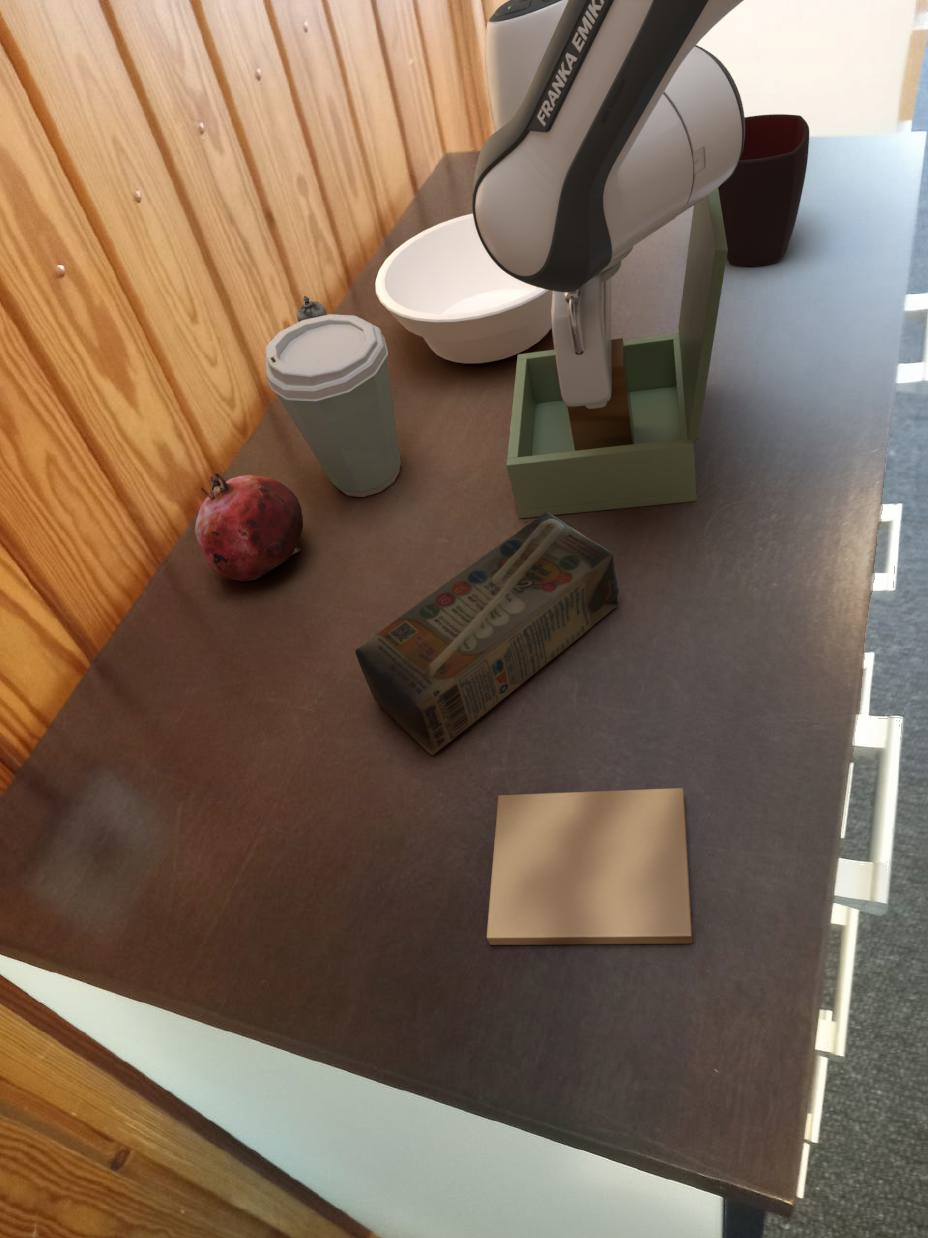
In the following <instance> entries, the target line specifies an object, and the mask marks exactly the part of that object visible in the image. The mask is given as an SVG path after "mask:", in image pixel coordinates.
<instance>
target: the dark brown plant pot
mask: <svg viewBox="0 0 928 1238" xmlns="http://www.w3.org/2000/svg"><path fill="white" fill-rule="evenodd" d="M744 117H745V139H744V146H743V151H742V155H741V158H740V161H739V164H738V166H737V168H736V170H735V172H734V173H733V175H732V176H731V177H730V178H729V179H728V180H727V181H725V182H724V183H722V184H721V185H720V186H719V187H718V191H719V197H720V203H721V210H722V216H723V223H724V229H725V236H726V242H727V249H728V252H727V258H726V260H727V261H728V263H729V264H730V265H732V266H738V267H759V266H766V265H771V264H776V263H779V262H780V261H781V260H782V259H783V258H784V256H785V255H786V253H787V250H788V247H789V244H790V242H791V238H792V235H793V232H794V229H795V226H796V222H797V217H798V214H799V208H800V205H801V201H802V196H803V195H802V194H803V190H804V185H805V179H806V174H807V166H808V161H809V149H810V148H809V147H810V145H809V144H810V127H809V124H808V121H806V120H805V118H804V117H803V116H802V115H800V114H786V113H785V114H783V113H779V114H778V113H777V114H775V113H773V114H759V115H750V116H744Z"/></svg>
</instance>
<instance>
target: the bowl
mask: <svg viewBox="0 0 928 1238" xmlns="http://www.w3.org/2000/svg"><path fill="white" fill-rule="evenodd" d="M374 286H375V295H376V296H377V298H378V300H379V303H380V304H381V305H382V306H383V307H384V308H385V309H386V310H387V311H388V312H389V313H390V314H391V316H393V318H394V319H395V320H396V321H397V322H398V323H399V324H401V325H402V327H404V329H406V331H408V332H410V333H412V334H414V335H416V336H418V337H421V338H422V339H423V340H424V341H425V343H426V344H427V345H428V347H429V348H430V350H431V351H432V352H434V354H436V356H439V358H442V359H444V360H446V361H450V362H454V363H461V364H484V363H491V362H497V361H500V360H504V359H507V358H511V357H512V356H515V355H519V354H521V353H522V352H524V351H526V350H529V349H530V348H531V347H533V346H534V345H536V344H537V343H539V342H540V341H541V340H542V339H544V338H545V336H547V335H548V333H549V332H550V330H552V320H551V311H552V295H553V291H551V290H546V289H542V288H539V287H535V286H532V285H529V284H527V283H524V282H522V281H520V280H518V279H516V278H514V277H512V276H510V275H509V274H507V273H506V272H504V271H503V270H502V269H501V268H500V267H499V266H498V265H497V264H496V263H495V262H494V261H493V260H492V259H491V257H490V256H489V254H488V253H487V251H486V250H485V248H484V246H483V244H482V242H481V240H480V238H479V235H478V233H477V230H476V226H475V222H474V218H473V212H472V213H468V214H465V215H461V216H457V217H454V218H452V219H448V220H445V221H442V222H440V223H438V224H436V225H434V226H431V227H429V228H426V229H424V230H423V231H421V232H419V233H418V234H416V235H414V236H412V237H410V238H409V239H407V240H406V241H405V242H403V243H402V244H401V245H399V247H397V248H396V249H394V250H393V252H392V253H391V254H389V256H388V257H387V258H385V260H384V262H383V263H382V265H381V266H380V268H379V270H378V272H377V275H376V279H375V285H374Z"/></svg>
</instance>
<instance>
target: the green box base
mask: <svg viewBox="0 0 928 1238" xmlns="http://www.w3.org/2000/svg"><path fill="white" fill-rule="evenodd" d="M623 342H624V350H625V359H626V367H627V375H628V384H629V392H630V400H631V408H632V417H633V425H634V444H632V445H623V446H614V447H605V448H596V449H588V450H579V451H575V448H574V443H573V437H572V431H571V425H570V420H569V414H568V408H567V405H566V404H565V402H564V400H563V398H562V395H561V389H560V383H559V377H558V370H557V364H556V357H555V350H554V349H549V350H543V351H534V352H525V353H518V354H517V359H516V368H515V376H514V377H515V378H514V387H513V388H514V389H513V399H512V408H511V418H510V427H509V437H508V447H507V456H506V465H505V466H506V471H507V473H508V479H509V481H510V482H509V483H510V486H511V490H512V494H513V500H514V502H515V503H514V504H515V507H516V511H517V515H518V519H528V518H529V519H530V518H538V517H539V516H541V515H542V514H543V513H545V512H547V513H550V514H552V515H553V516H558V515H559V516H560V515H568V514H569V515H570V514H579V513H589V512H599V511H607V510H608V511H609V510H618V509H619V510H620V509H630V508H638V507H639V508H641V507H649V506H658V505H659V506H660V505H669V504H671V505H672V504H678V503H680V504H681V503H689V502H697V501H698V493H697V492H698V491H697V480H696V479H697V478H696V467H695V465H696V464H695V451H694V439H688V437H687V425H686V413H685V400H684V388H683V376H682V364H681V352H680V340H679V332H674V333H667V334H660V335H653V336H651V335H650V336H645V337H636V338H629V339H623Z"/></svg>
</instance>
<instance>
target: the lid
mask: <svg viewBox="0 0 928 1238" xmlns="http://www.w3.org/2000/svg"><path fill="white" fill-rule="evenodd" d="M690 224H691V225H690V233H689V238H688V239H689V241H688V248H687V257H686V264H685V265H686V266H685V271H684V279H683V288H682V295H681V303H680V311H679V318H678V319H679V320H678V327H677V328H678V333H679V340H680V352H681V364H682V376H683V388H684V400H685V413H686V425H687V437H688V439H693V440H699V435H700V430H701V424H702V418H703V417H702V416H703V410H704V403H705V398H706V391H707V385H708V379H709V373H710V372H709V371H710V366H711V361H712V360H711V359H712V353H713V346H714V342H715V341H714V340H715V334H716V329H717V321H718V315H719V308H720V304H721V303H720V301H721V297H722V289H723V288H722V287H723V284H724V277H725V270H726V265H727V264H726V263H727V252H728V249H727V242H726V236H725V229H724V223H723V216H722V210H721V203H720V197H719V191H718V188H717V189H716V190H714V191H713V192H712V193H711V194H709V195H708V196H706V197H705V198H703V199H702V200H701V201H699V202H698V203H696V204H695V205H693V209H692V216H691V223H690Z"/></svg>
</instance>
